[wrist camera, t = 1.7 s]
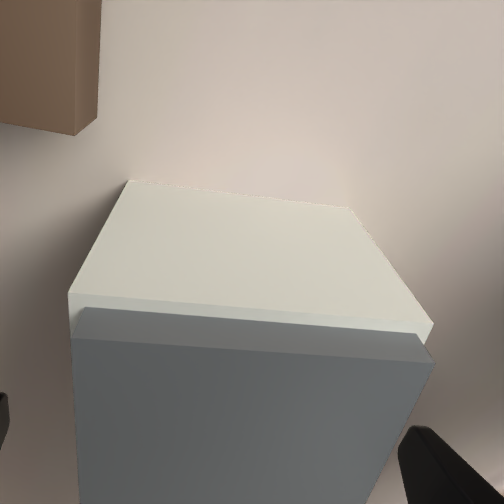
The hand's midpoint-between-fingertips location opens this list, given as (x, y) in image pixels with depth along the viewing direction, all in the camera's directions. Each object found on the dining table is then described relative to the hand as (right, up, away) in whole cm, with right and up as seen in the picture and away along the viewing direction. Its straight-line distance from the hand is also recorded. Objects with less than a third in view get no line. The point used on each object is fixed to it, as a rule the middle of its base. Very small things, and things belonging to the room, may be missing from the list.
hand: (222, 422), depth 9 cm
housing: (0, +1, +2) cm, 3 cm away
